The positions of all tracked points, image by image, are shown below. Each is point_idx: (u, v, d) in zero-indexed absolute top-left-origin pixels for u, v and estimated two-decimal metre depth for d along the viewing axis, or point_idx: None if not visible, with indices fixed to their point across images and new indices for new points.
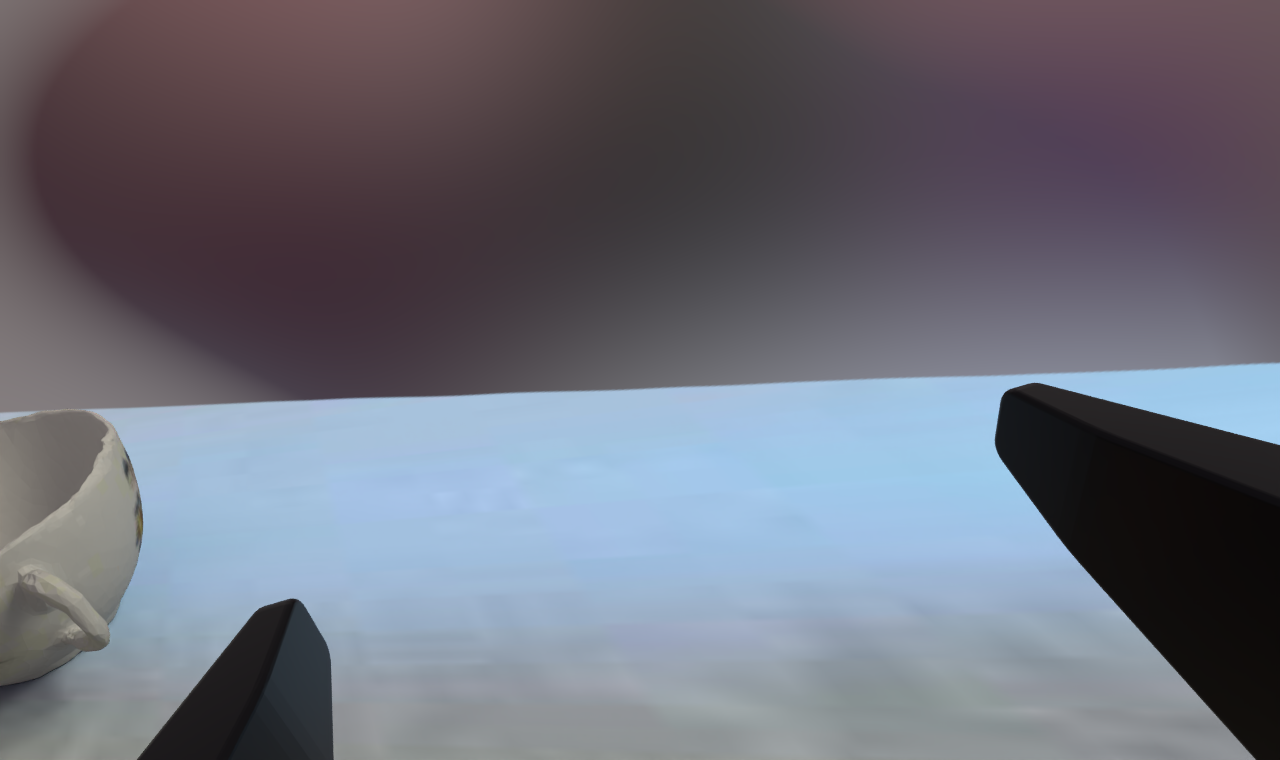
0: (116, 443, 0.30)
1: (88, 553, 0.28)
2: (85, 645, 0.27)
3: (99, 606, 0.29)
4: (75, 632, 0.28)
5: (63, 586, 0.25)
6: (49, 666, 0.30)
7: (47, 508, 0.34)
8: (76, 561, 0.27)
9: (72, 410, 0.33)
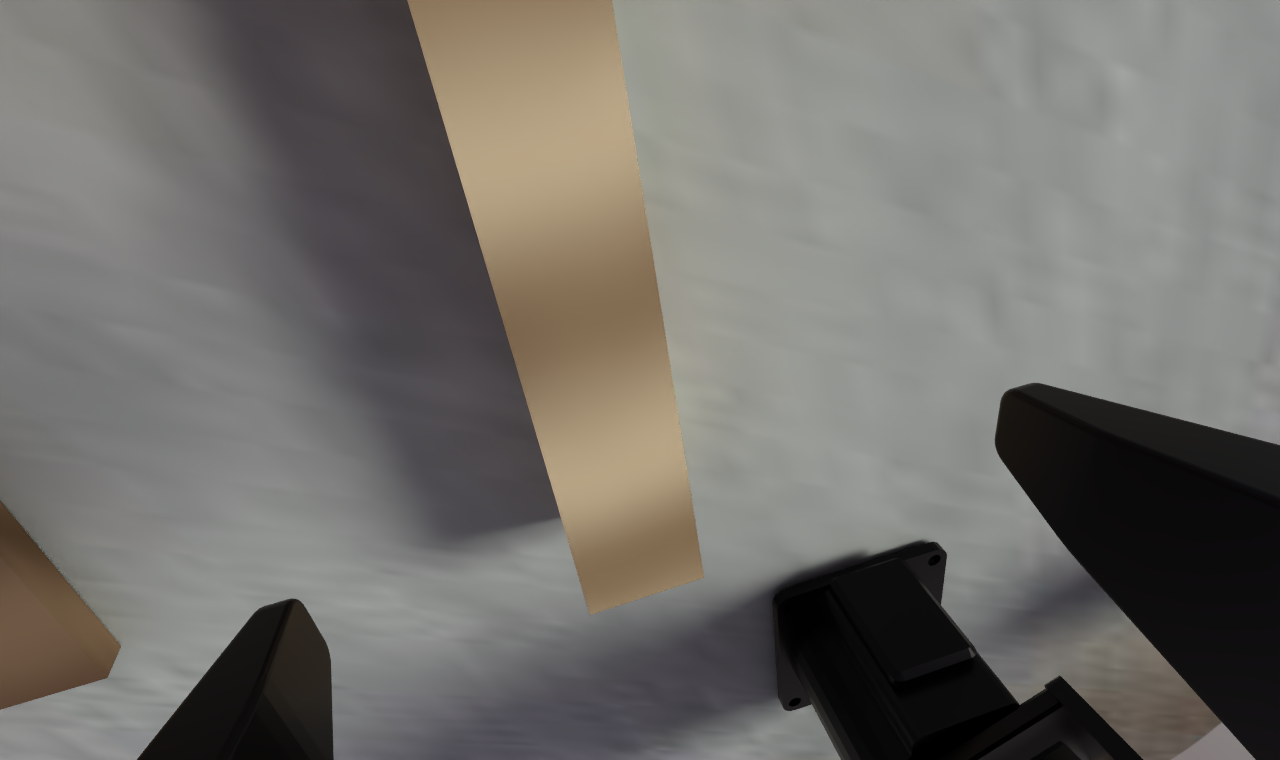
0: None
1: None
2: None
3: None
4: None
5: None
6: None
7: None
8: None
9: None
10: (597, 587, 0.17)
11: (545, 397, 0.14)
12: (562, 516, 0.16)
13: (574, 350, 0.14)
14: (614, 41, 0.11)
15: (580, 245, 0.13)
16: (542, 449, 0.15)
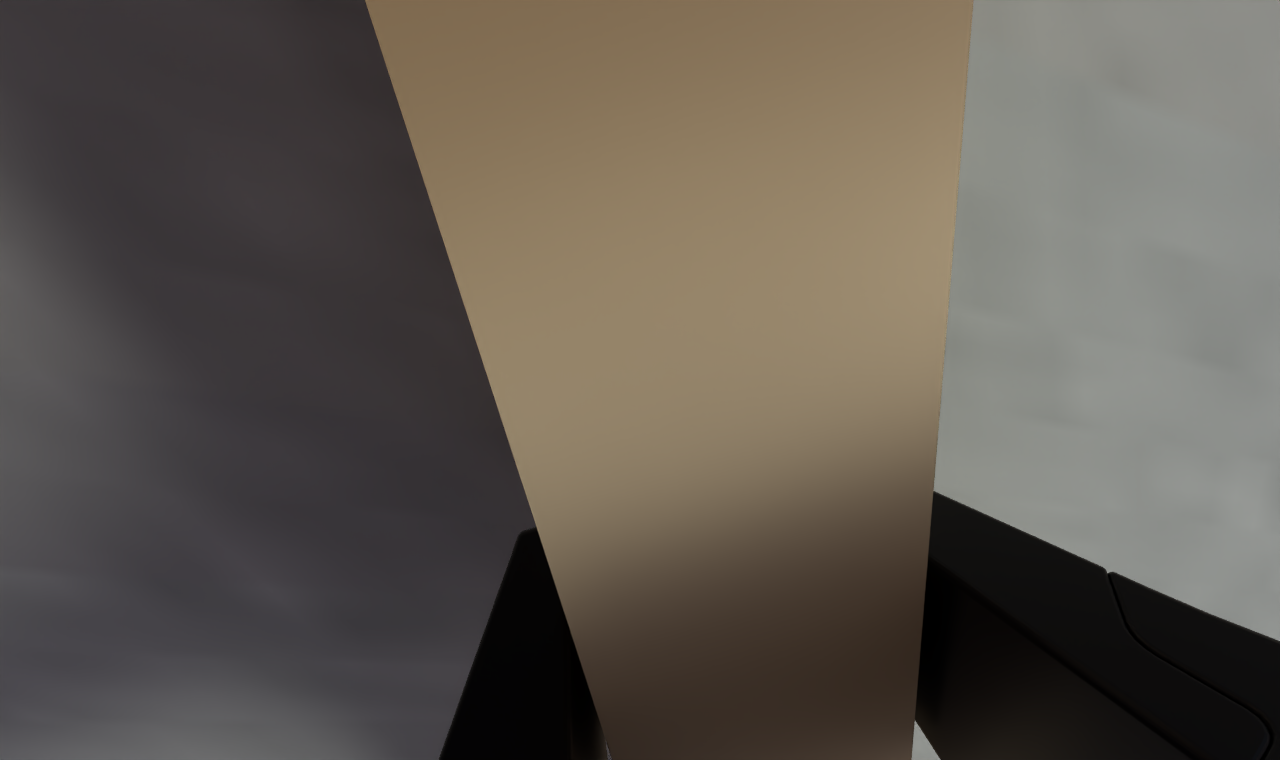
0: None
1: None
2: None
3: None
4: None
5: None
6: None
7: None
8: None
9: None
10: None
11: None
12: None
13: None
14: (947, 185, 0.04)
15: (785, 600, 0.06)
16: None
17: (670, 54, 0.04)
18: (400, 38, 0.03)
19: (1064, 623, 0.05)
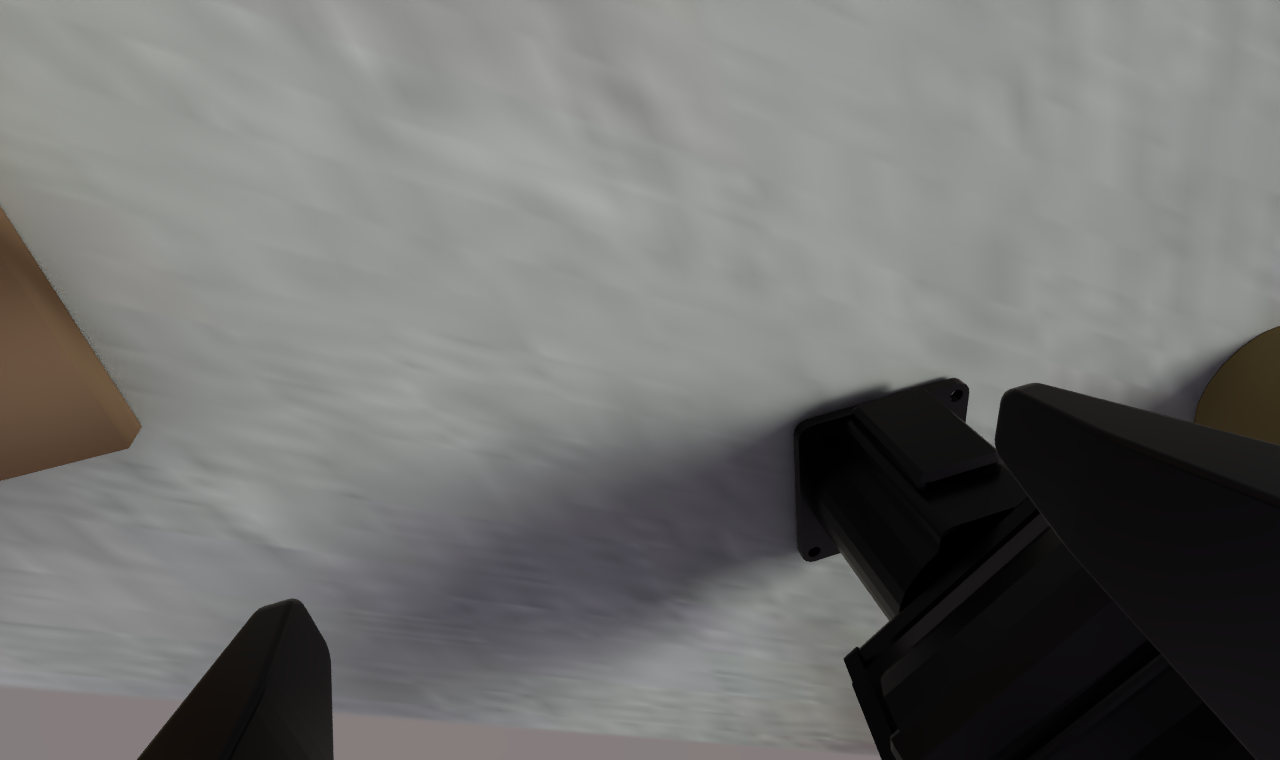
0: None
1: None
2: None
3: None
4: None
5: None
6: None
7: None
8: None
9: None
10: None
11: None
12: None
13: None
14: None
15: None
16: None
17: None
18: None
19: None
